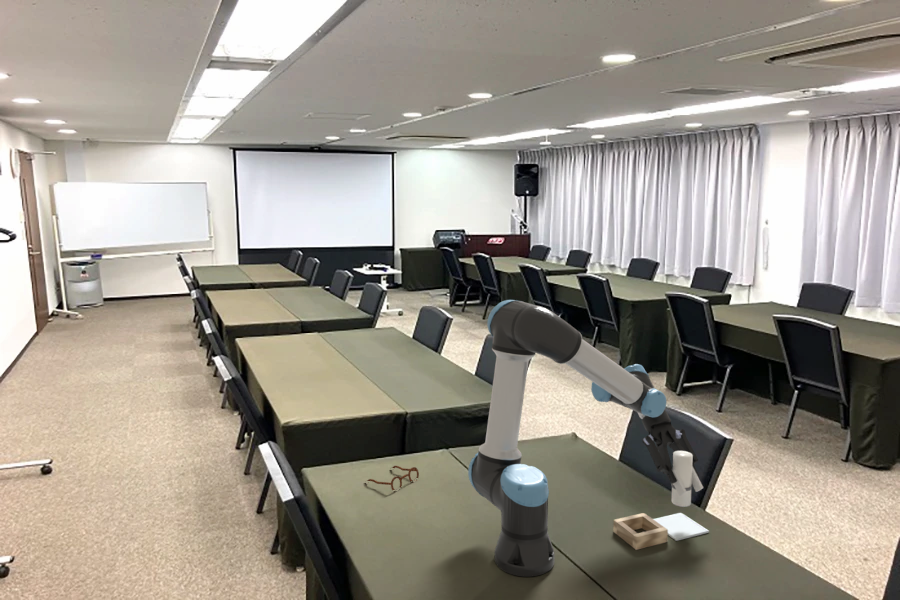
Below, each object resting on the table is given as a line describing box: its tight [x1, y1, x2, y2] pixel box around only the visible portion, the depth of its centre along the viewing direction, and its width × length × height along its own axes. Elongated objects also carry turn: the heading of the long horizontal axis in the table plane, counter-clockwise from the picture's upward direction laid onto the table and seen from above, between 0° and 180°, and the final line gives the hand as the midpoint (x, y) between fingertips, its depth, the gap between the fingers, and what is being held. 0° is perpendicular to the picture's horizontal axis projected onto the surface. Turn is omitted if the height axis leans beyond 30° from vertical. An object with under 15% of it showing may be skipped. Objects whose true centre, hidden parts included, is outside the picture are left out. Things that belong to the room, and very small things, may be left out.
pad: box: [652, 512, 710, 542], centre depth 179 cm, size 11×11×1 cm
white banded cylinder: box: [670, 451, 693, 508], centre depth 177 cm, size 5×5×14 cm
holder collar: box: [612, 512, 669, 551], centre depth 174 cm, size 10×10×4 cm
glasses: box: [366, 465, 420, 491], centre depth 210 cm, size 13×13×5 cm
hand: (691, 491), depth 174 cm, fingers closed on white banded cylinder, 5 cm apart
